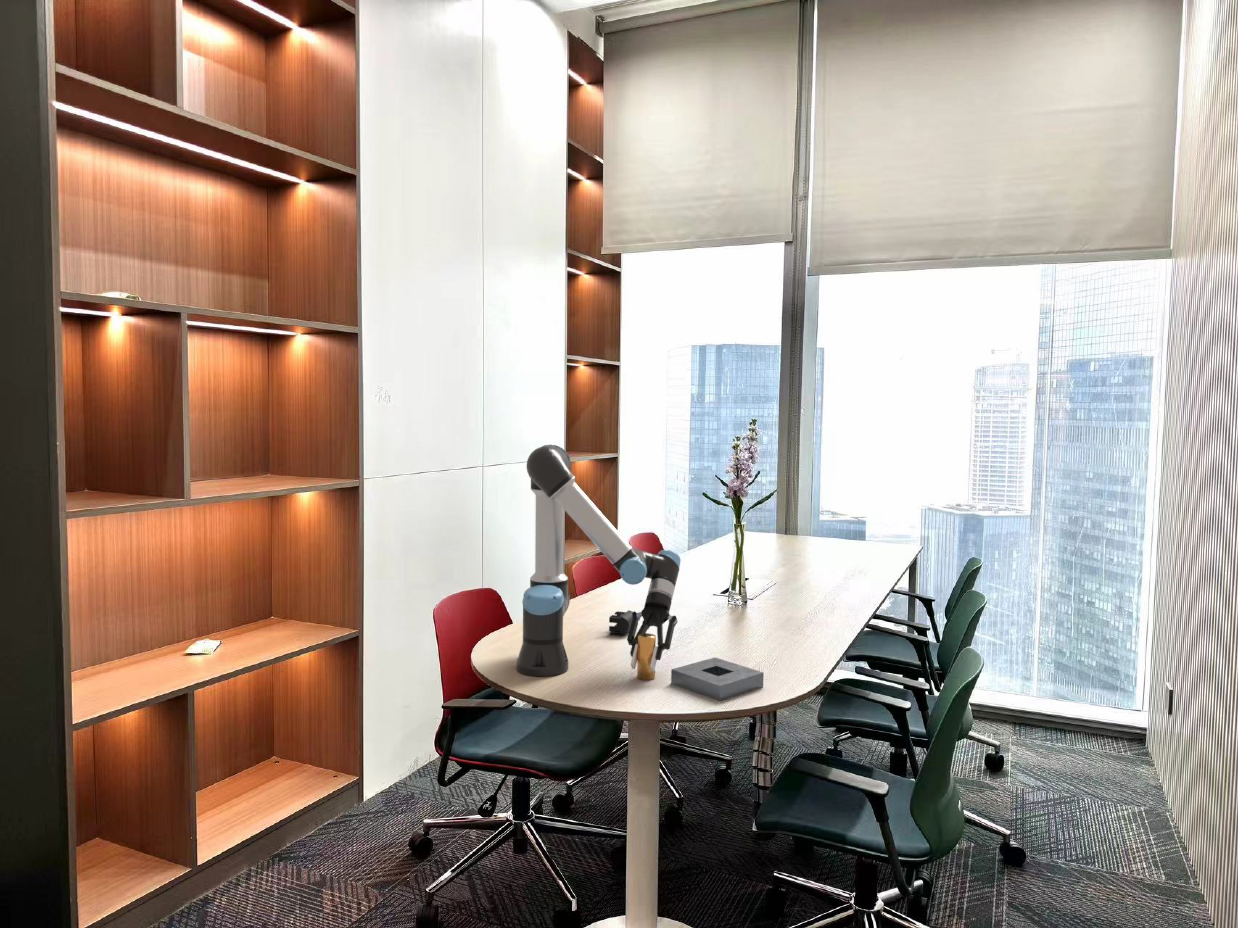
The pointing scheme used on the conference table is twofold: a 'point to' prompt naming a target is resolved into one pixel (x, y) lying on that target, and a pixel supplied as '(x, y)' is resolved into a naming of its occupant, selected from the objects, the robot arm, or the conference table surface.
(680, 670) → the jig
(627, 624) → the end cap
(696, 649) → the conference table surface
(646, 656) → the bushing
